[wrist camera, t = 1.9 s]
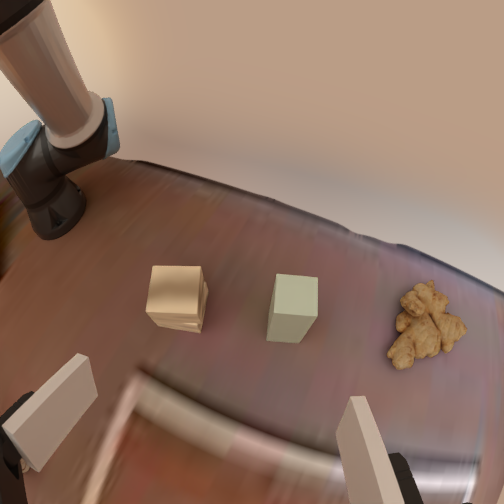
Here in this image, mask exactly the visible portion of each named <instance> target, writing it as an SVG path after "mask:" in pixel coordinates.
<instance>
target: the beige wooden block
mask: <svg viewBox="0 0 504 504" xmlns="http://www.w3.org/2000/svg"><path fill="white" fill-rule="evenodd" d="M208 293H209V292H208V288H207V284H206V282H204V289H203V305H202V322H201V324H196V323H171V322H155V323H156V324H157V325H158V326H162V327H167V328H172V329H178V330H184V331H190V332H196V333H201V329H202V324H203V319H204V313H205V308H206V303H207V298H208Z"/></svg>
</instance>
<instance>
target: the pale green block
mask: <svg viewBox="0 0 504 504" xmlns="http://www.w3.org/2000/svg"><path fill="white" fill-rule="evenodd" d="M317 317H318V278H317V277H306V276H296V275H285V274H277V275H276V280H275V284H274V289H273V294H272V299H271V304H270V308H269V317H268V328H267V338H266V341H277V342H289V343H300V341H301V340H302V338H303V337H304V336H305V334H306V333H307V331H308V330H309V328H310V327H311V325H312V324H313V322H314V321H315V320H316V318H317Z"/></svg>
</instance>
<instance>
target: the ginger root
mask: <svg viewBox="0 0 504 504" xmlns="http://www.w3.org/2000/svg"><path fill="white" fill-rule="evenodd" d="M447 298H448V297H447V296H445V295H443V294H442V293H439V291H435V290H434V282H433V280H431V281H429V282H428V283H427V284H426V285H425V284H423V283H418V284H417V285H415V286H414V287H413V290H412V291H410V292H408V293H406V295H405V296H403V297H402V298H401V300H400V302H401V305H402V307H403V308H404V309H405V310H404V311H403V312H402V313H400V314H399V315H398V316H397V318H396V329H397V331H399V332H400V333H402V334H401V335H400V336H399V337H398V339H397V340H396V341H395V342H394V344H393V345H392V347H391V348H390V350H389V351H388V353H387V357H388V358H391V359H392V364H393V366H395V367H396V369H398V370H402V369H405V368H411V367H412V364H413V362H414V357H415V358H417V359H419V358H422V359H423V358H424V357H425V356H426V355H427V356H428V357H430V358H432V357H433V356H435V355H437V354H438V352H439V351H440V349H442V351H443V352H445V353H447V352H449V351H450V350H451V349H452V347H453V345H454V342H455V341H458V340H459V339H460V338H461V336H463V335H464V334H466V331H467V328H466V327H465V325H464V324H463V322H462V321H461V318H460V317H457V316H454V315H451V314H449V313H447V314H446V313H445V309H446V308H445V306H447V304H448V303H449V301H448V299H447Z"/></svg>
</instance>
